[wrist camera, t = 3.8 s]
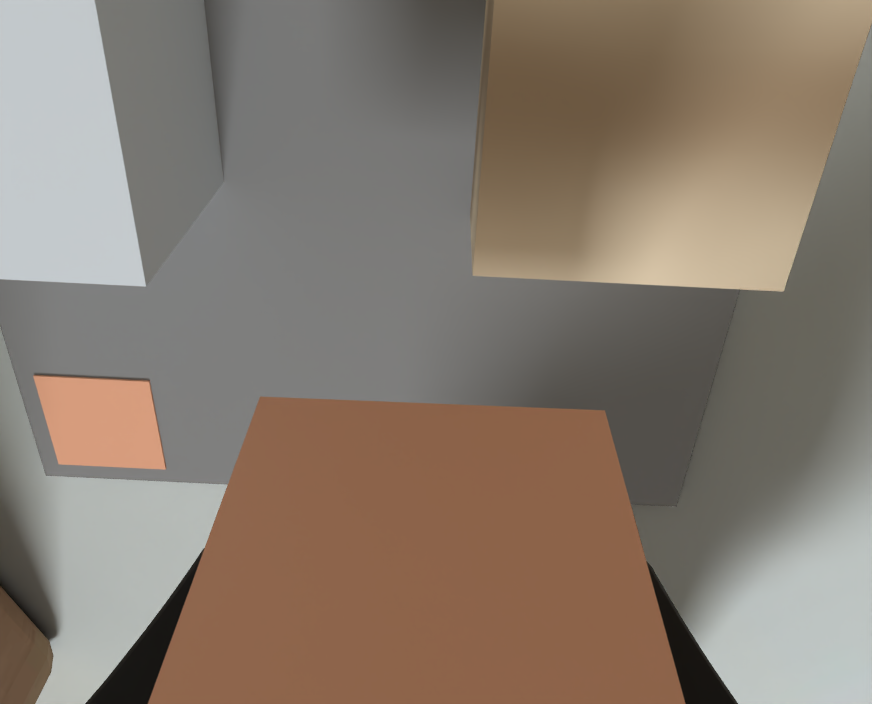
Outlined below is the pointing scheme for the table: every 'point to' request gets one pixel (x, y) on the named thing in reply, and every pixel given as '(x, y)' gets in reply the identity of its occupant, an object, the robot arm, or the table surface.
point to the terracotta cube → (421, 564)
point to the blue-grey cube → (103, 136)
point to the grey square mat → (348, 272)
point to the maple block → (656, 136)
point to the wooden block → (21, 655)
